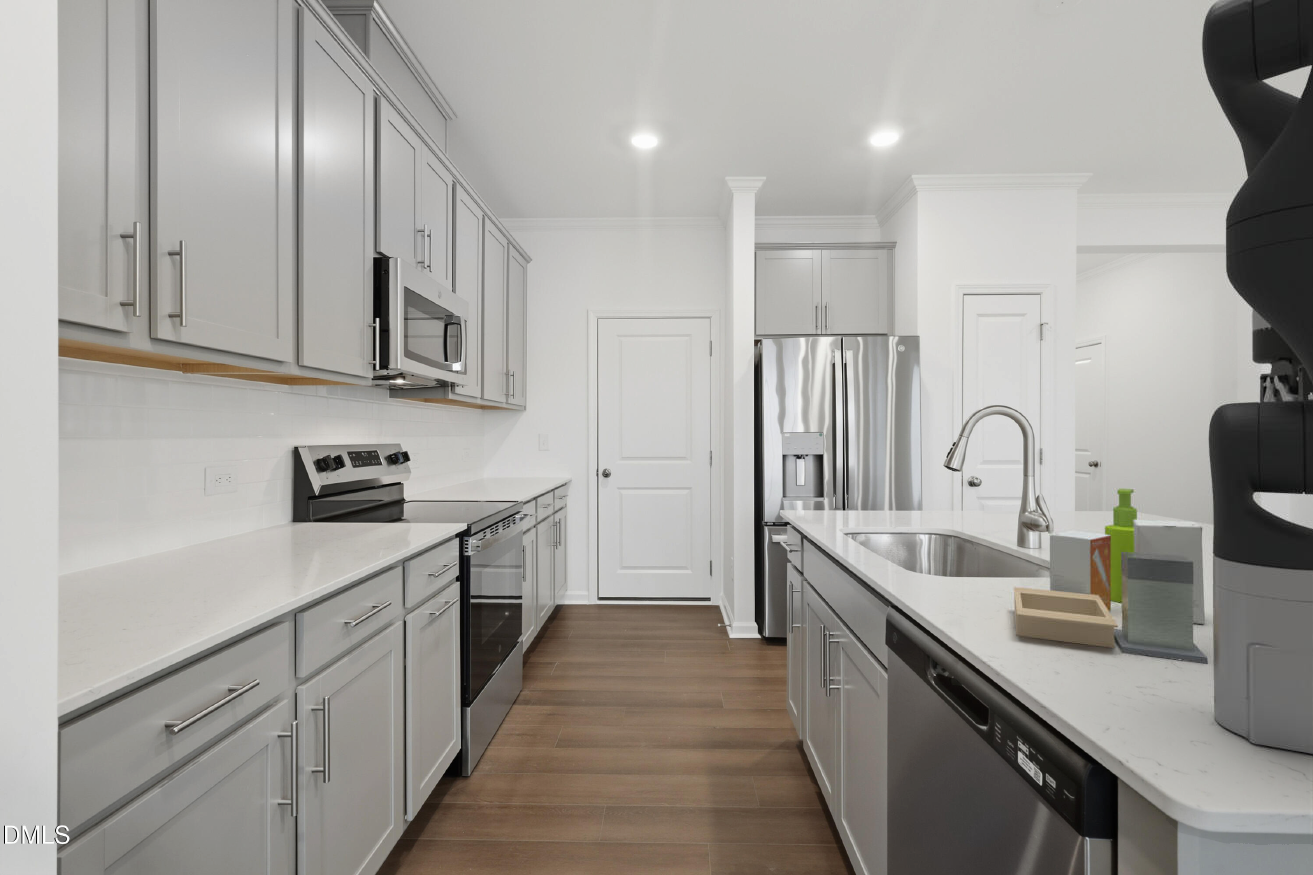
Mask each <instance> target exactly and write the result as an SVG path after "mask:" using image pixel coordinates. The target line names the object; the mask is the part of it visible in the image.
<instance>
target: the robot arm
mask: <svg viewBox="0 0 1313 875" xmlns="http://www.w3.org/2000/svg"><path fill="white" fill-rule="evenodd" d="M1202 28H1203V29H1202V35H1201V36H1202V38H1201V46H1202V47H1201V48H1202V49H1201V50H1202V59H1203V65H1204V67H1203V68H1204V71H1205V74H1206V78H1207V80H1208V83H1209V86H1210V87H1211V89H1212V91H1213V93H1214V95H1215V98H1216V100H1217V102H1218V103H1219V106H1220V107H1221V110H1222V112H1223V114H1224V116H1225V118H1226V119H1227V120H1228V121H1227V122H1229V124H1230V125H1231V127H1232V129H1233V130H1234V132H1235V134H1236V137H1237V138H1238V140H1239V142H1240V146H1241V150H1242V154H1243V159H1244V163H1245V168H1246V173H1247V174H1246V175H1247V178H1246V179H1245V181H1244V183H1242V185H1241V187H1240V188H1239V190H1238V191H1237V193H1236V194H1235V196H1234V198H1233V200H1232V201H1231V203H1230V205H1229V207H1228V210H1227V213H1226V217H1225V266H1226V267H1225V269H1226V275H1227V278H1228V280H1229V282H1230V284H1231V286H1232V287H1233V289H1234V291H1235V292H1237V294H1238V295H1239V296H1240V297H1241V298H1242V300H1244V301H1245V302H1246V304H1247V305H1249V307H1250V308H1251V309H1252V312H1251V314H1252V316H1251V318H1252V319H1251V320H1252V321H1251V324H1252V330H1251V331H1252V332H1251V334H1252V335H1251V336H1252V338H1251V340H1252V341H1251V345H1252V346H1251V348H1252V353H1251V354H1252V361H1253V363H1256V364H1258V365H1259V364H1261V365H1265V364H1267V365H1268V364H1269V365H1271V368H1270V372H1269V373H1261V374H1260V376H1259V383H1260V384H1259V401H1253V402H1251V401H1250V402H1234V403H1232V402H1231V403H1225V404H1221V405H1220V406H1219V407H1217V408H1216V409H1215V411H1214V412H1213V414H1212V416H1211V418H1210V422H1209V427H1208V428H1209V429H1208V454H1209V465H1210V466H1209V467H1210V476H1211V485H1212V486H1211V489H1212V491H1211V492H1212V502H1213V503H1212V504H1213V506H1212V508H1213V513H1212V514H1213V515H1212V516H1213V517H1212V518H1213V536H1212V538H1213V539H1212V554H1213V555H1212V616H1213V617H1212V623H1213V624H1212V631H1213V632H1212V634H1213V635H1212V636H1213V637H1212V638H1213V642H1212V643H1213V645H1212V646H1213V648H1212V649H1213V650H1212V651H1213V652H1212V654H1213V660H1212V661H1213V703H1214V704H1213V716H1214V720H1216V722H1217V723H1218V724H1220V725H1221V726H1222V727H1223V728H1226V729H1227V730H1229V731H1231V732H1233V733H1236V734H1237V735H1240V736H1242V737H1244V738H1246V739H1247V740H1248V742H1250V743H1252V744H1255V745H1262V746H1266V747H1267V746H1268V747H1272V748H1278V749H1283V750H1289V751H1295V752H1300V753H1301V752H1302V753H1306V754H1307V753H1308V754H1312V755H1313V528H1310V527H1307V526H1305V525H1301V524H1298V523H1295V522H1293V521H1290V520H1287V519H1285V518H1282V517H1280V516H1277V515H1276V514H1274V513H1272V512H1270V511H1268V510H1266V509H1265V508H1263V507H1262V506H1260V505H1259V504H1258V503H1257V502H1256V500H1255V499H1254V495H1255V493H1263V494H1264V493H1265V494H1266V493H1268V494H1286V495H1287V494H1288V495H1289V494H1290V495H1291V494H1292V495H1293V494H1294V495H1303V494H1304V495H1313V0H1217V1H1216V2H1214V3H1213V4H1212V5H1211V6H1210V8H1209V9H1208V12H1207V14H1206V15H1205V18H1204V22H1203V27H1202ZM1310 66H1311V68H1310V72H1309V74H1308V77H1307V81H1306V83H1305V87H1304V89H1303V91H1302V93H1301V96H1300V97H1298V96H1296V95H1293V94H1291V93H1289V92H1286V91H1284V90H1281V89H1278V88H1277V87H1274V86H1272V85H1270V84H1269V83H1267V82H1265V80H1269V79H1271V78H1275V77H1278V76H1281V75H1284V74H1287V73H1290V72H1293V71H1297V70H1300V69H1302V68H1306V67H1310Z"/></svg>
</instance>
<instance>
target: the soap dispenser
mask: <svg viewBox="0 0 1313 875" xmlns="http://www.w3.org/2000/svg"><path fill="white" fill-rule="evenodd" d="M1116 492H1117V494H1118V505H1117V506H1114V507H1113V508H1112V509H1113V510H1112V511H1113V516H1112V518H1113V520H1112V521H1113V524H1110V525H1109V524H1108V525H1104V534H1106V535H1111V602H1114V603H1115V602H1116V603H1118V604H1119V603H1120V604H1122V573H1121V552H1132V553H1134V525H1133V520H1138V513H1137V512H1138V509H1137V508H1135V507H1134V506H1132V494H1134V492H1135V491H1134V489H1133V488H1118V489H1117V490H1116Z"/></svg>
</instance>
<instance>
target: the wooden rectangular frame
mask: <svg viewBox="0 0 1313 875" xmlns="http://www.w3.org/2000/svg"><path fill="white" fill-rule="evenodd" d="M1013 590H1014V592H1013V593H1014V594H1013V595H1014V596H1013V597H1014V622H1015V631H1016V636H1018V637H1025V638H1027V637H1028V638H1032V639H1033V638H1034V639H1035V638H1036V639H1041V640H1042V639H1043V640H1050V641H1058V642H1064V643H1065V642H1066V643H1071V644H1072V643H1074V644H1081V645H1089V646H1096V647H1102V648H1112V649H1115V640H1114V629H1119V625H1118V624H1117V622H1116V621H1115V619H1114V617H1113V616H1112V614H1111V613H1110V611H1108V609H1107V608H1106V606H1105V605H1104V603H1103V601H1102V600H1101V598H1100V597H1099V595H1092V594H1081V593H1071V592H1061V591H1050V589H1040V588H1038V589H1037V588H1028V587H1020V586H1019V587H1018V586H1013Z"/></svg>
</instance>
